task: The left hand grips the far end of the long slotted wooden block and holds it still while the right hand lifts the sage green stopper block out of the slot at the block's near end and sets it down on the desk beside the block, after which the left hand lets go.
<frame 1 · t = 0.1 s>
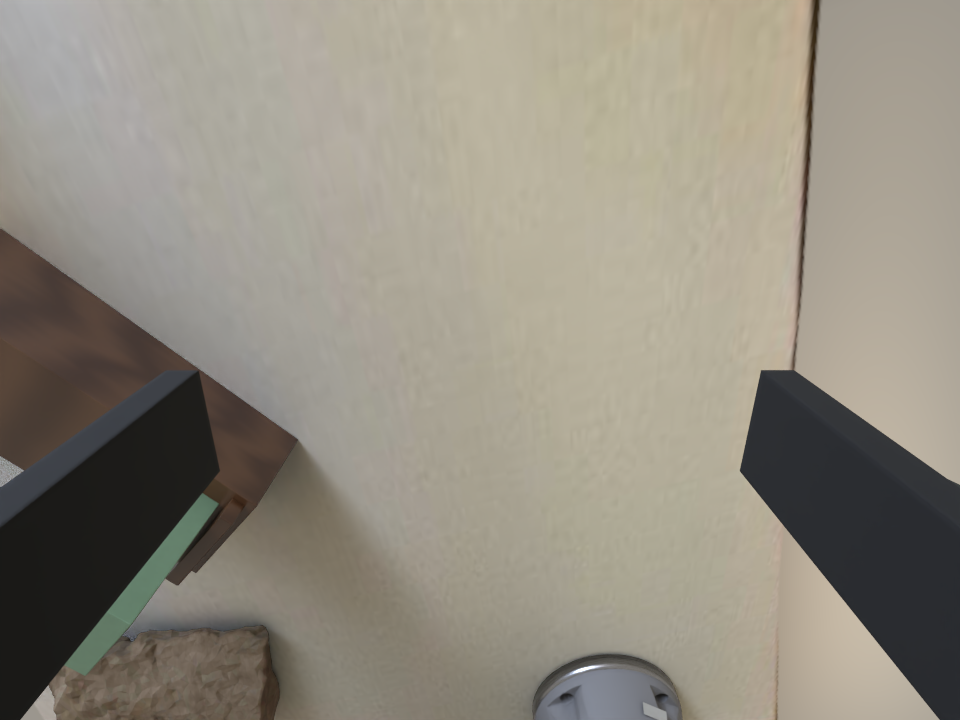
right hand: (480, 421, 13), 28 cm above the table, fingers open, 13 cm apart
stopper block: (168, 505, 37), point 9 cm above the table, touching slotted wooden block
stone: (180, 662, 55), on the table
slotted wooden block: (135, 376, 43), on the table, touching stopper block
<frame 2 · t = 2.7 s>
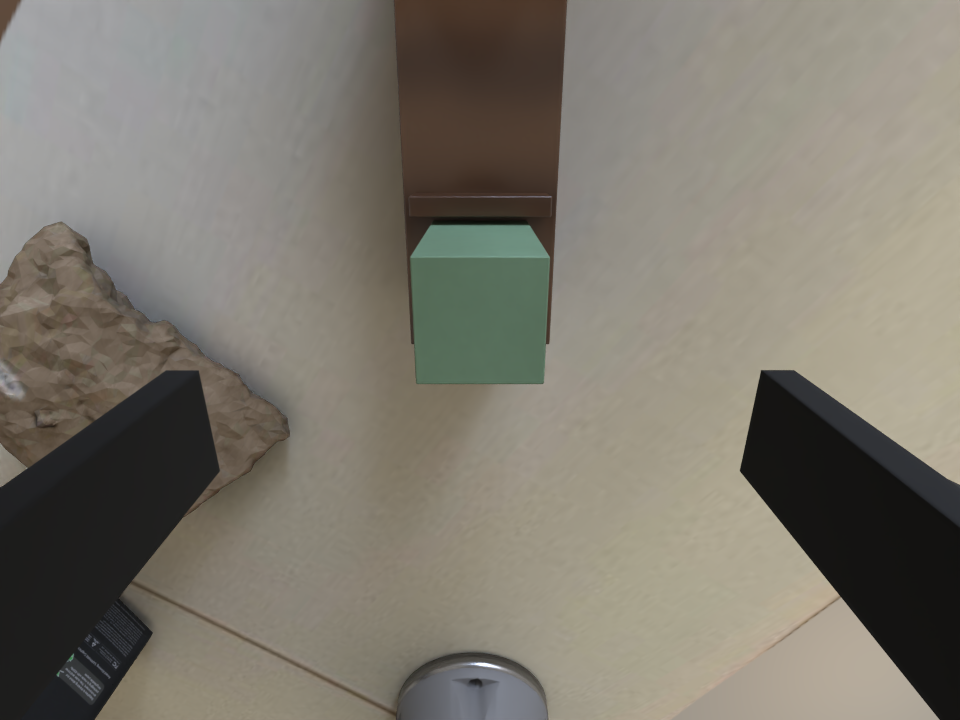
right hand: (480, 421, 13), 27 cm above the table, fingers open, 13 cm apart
graphics card box: (71, 578, 49), on the table
stopper block: (479, 267, 29), point 9 cm above the table, touching slotted wooden block
stone: (149, 379, 41), on the table
slotted wooden block: (480, 107, 34), on the table, touching stopper block
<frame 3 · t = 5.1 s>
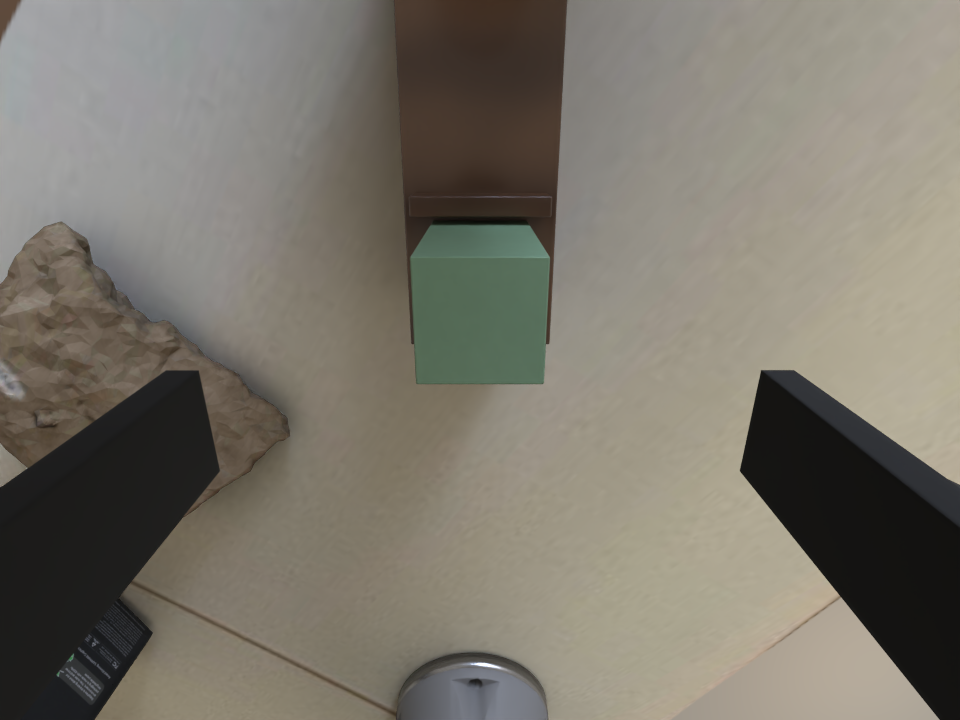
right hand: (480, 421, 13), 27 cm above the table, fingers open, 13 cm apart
graphics card box: (71, 578, 49), on the table
stopper block: (480, 267, 29), point 9 cm above the table, touching slotted wooden block
stone: (149, 379, 41), on the table
slotted wooden block: (480, 107, 34), on the table, touching left hand, stopper block
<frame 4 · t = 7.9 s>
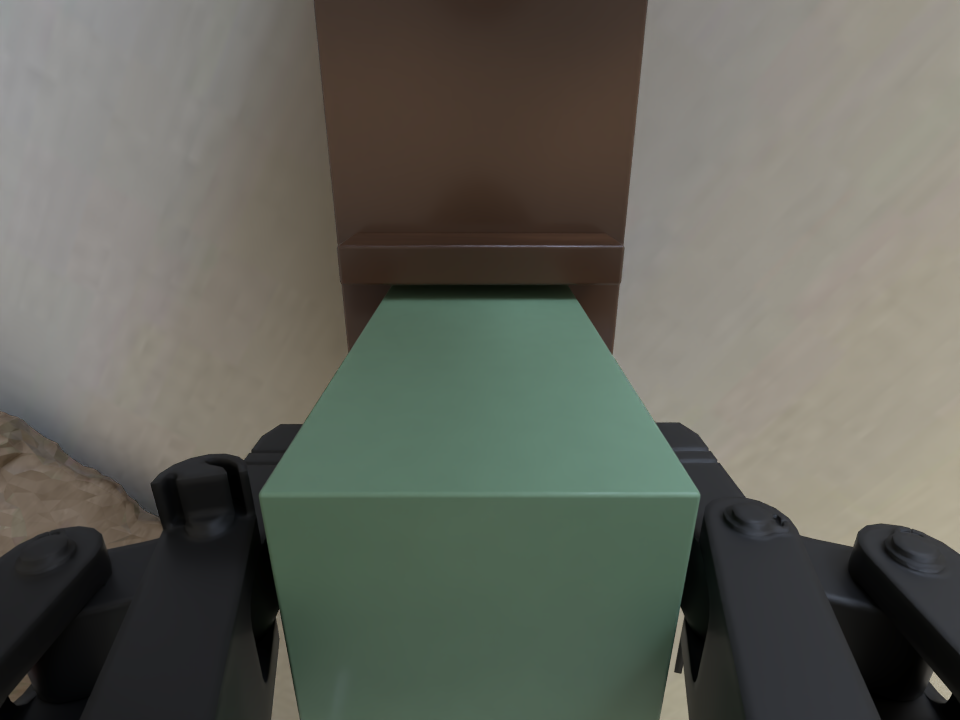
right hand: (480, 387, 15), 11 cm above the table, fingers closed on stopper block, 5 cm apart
stopper block: (479, 363, 16), point 9 cm above the table, touching slotted wooden block, right hand
slotted wooden block: (480, 82, 21), on the table, touching left hand, stopper block
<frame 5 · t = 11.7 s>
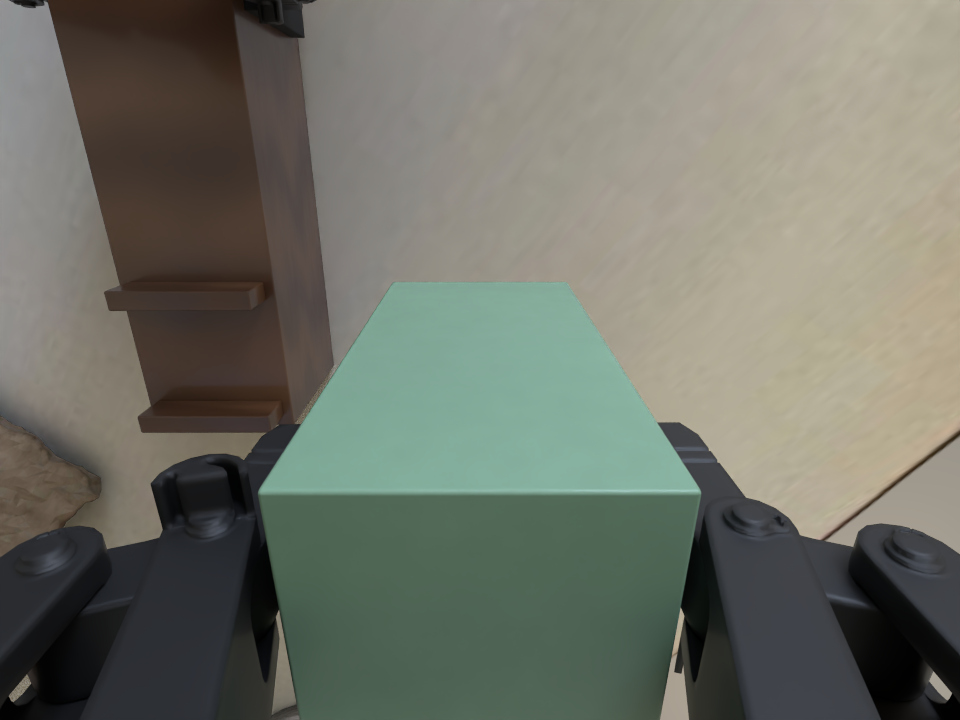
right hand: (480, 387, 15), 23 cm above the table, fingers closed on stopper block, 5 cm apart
stopper block: (479, 362, 16), point 21 cm above the table, touching right hand
slotted wooden block: (251, 178, 34), on the table, touching left hand
when the right hand's fingers open (3 cm above the table, at t = 15.4 s): stopper block drops 1 cm, on the table.
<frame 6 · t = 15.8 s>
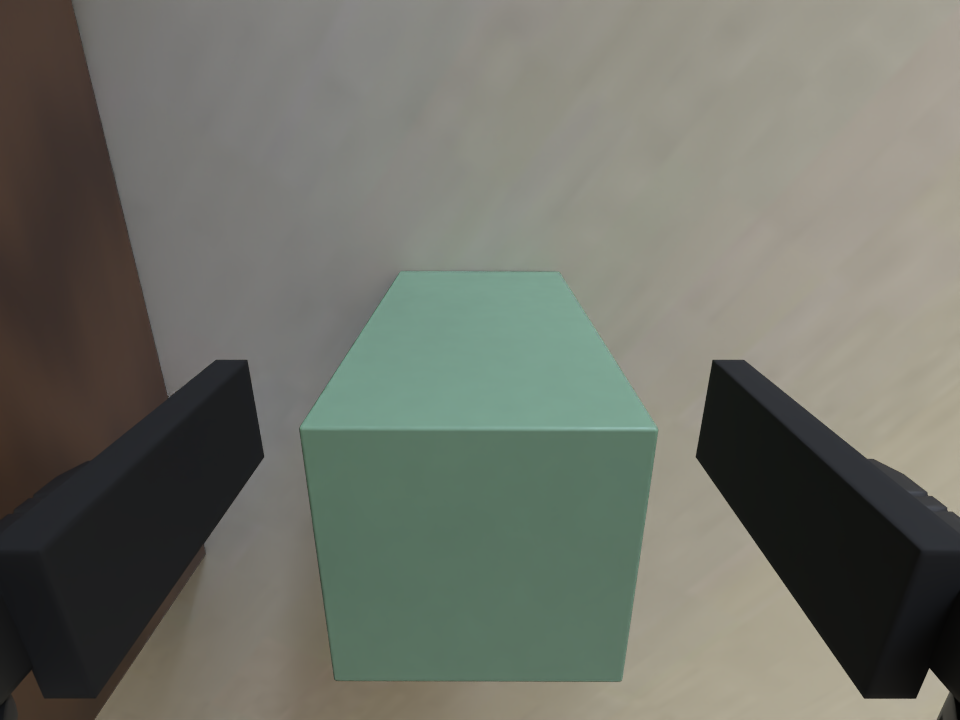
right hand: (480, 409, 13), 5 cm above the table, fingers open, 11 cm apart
stopper block: (479, 346, 18), on the table
when the left hand's fingers open (1 cm above the table, at t = 19.3 s): slotted wooden block stays where it is, on the table.
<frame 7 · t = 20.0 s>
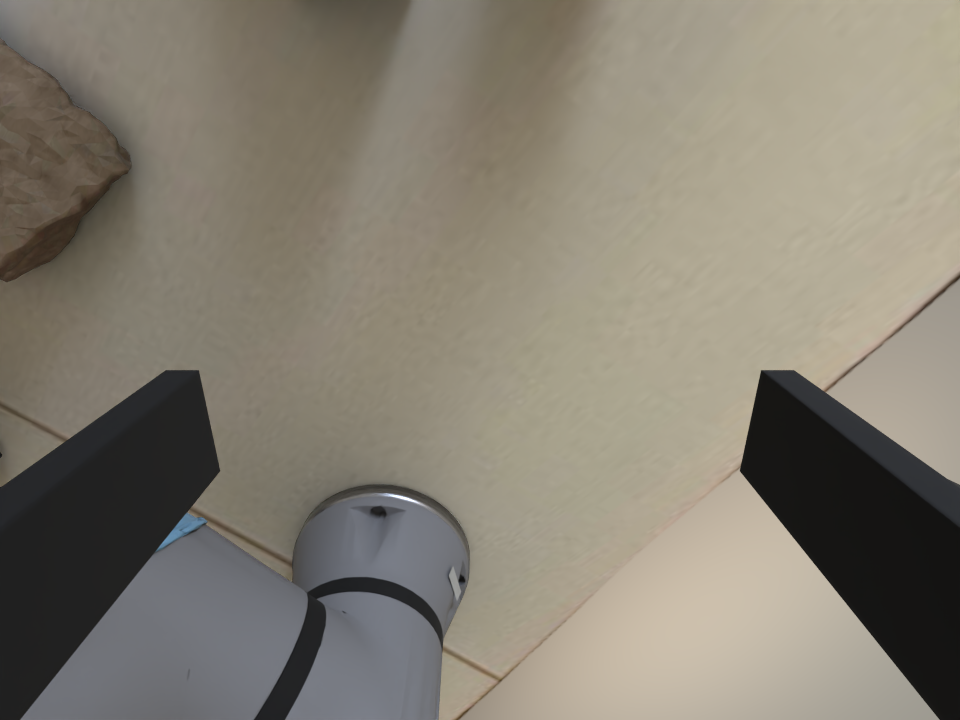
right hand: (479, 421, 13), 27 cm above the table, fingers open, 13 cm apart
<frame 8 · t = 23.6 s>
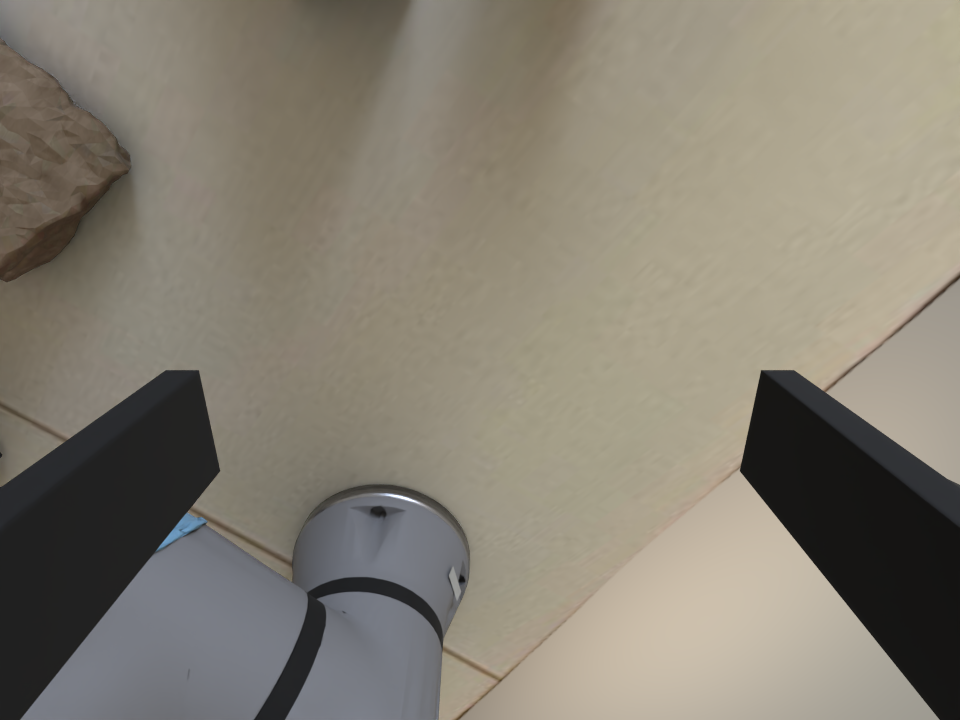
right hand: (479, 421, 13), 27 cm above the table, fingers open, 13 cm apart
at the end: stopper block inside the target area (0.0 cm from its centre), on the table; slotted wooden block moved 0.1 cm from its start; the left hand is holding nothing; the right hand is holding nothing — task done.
